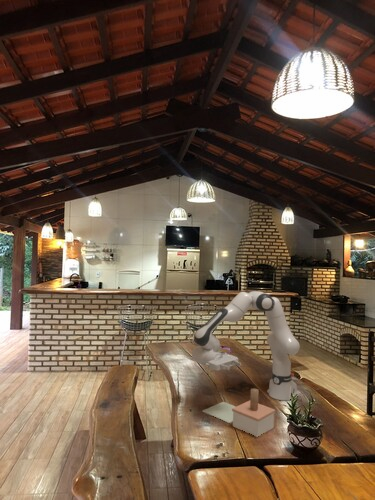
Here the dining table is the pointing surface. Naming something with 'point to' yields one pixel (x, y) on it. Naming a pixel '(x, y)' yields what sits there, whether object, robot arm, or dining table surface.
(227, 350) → the gum box
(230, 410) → the mat
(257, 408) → the lid
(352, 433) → the dining table surface
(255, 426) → the box
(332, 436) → the dining table surface
